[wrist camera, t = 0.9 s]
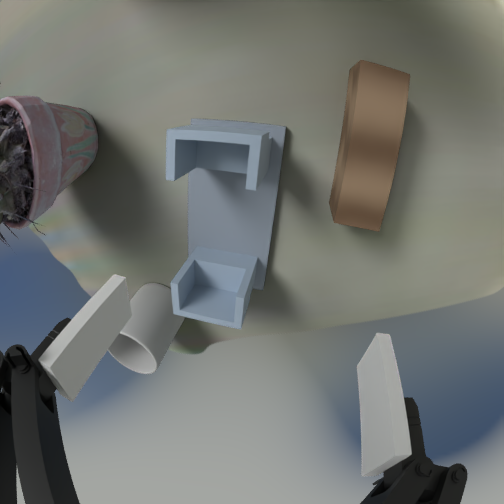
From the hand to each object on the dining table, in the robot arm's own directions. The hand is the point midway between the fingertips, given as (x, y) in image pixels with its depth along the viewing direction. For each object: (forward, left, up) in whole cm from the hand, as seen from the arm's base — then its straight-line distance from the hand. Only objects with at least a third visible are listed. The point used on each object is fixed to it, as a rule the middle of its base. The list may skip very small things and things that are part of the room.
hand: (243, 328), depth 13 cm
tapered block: (-8, +8, -20) cm, 23 cm away
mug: (+19, -17, -20) cm, 32 cm away
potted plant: (-5, -28, -20) cm, 35 cm away
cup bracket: (+2, -5, -20) cm, 21 cm away
